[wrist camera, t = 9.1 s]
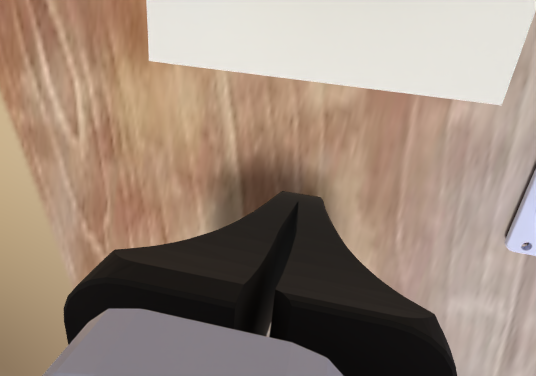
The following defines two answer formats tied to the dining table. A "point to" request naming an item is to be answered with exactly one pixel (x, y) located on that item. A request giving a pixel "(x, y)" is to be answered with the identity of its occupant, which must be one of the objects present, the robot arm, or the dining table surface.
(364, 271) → the robot arm
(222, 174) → the dining table surface
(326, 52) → the base
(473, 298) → the dining table surface
